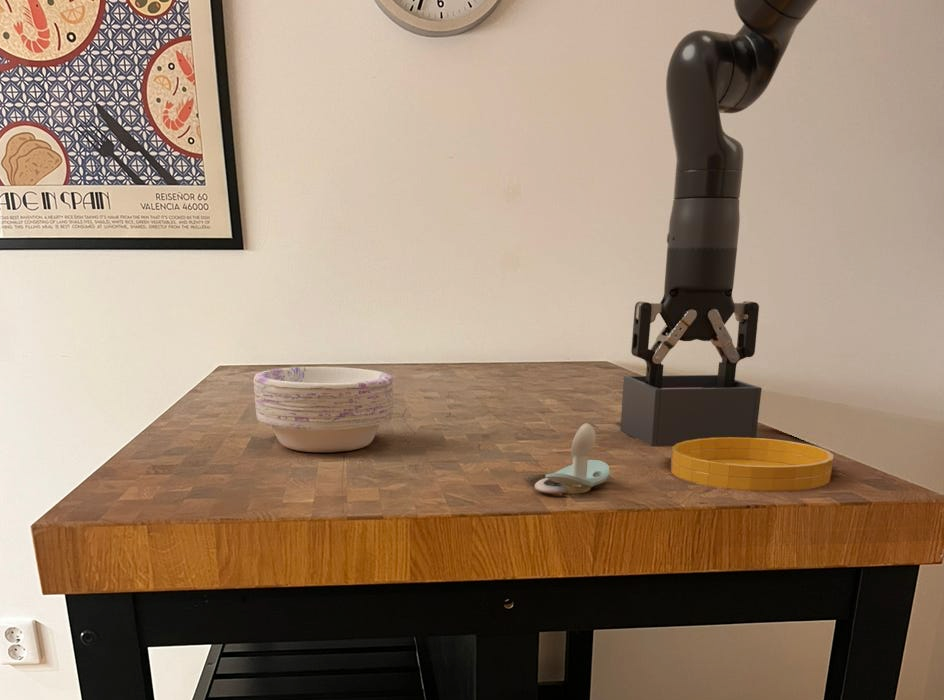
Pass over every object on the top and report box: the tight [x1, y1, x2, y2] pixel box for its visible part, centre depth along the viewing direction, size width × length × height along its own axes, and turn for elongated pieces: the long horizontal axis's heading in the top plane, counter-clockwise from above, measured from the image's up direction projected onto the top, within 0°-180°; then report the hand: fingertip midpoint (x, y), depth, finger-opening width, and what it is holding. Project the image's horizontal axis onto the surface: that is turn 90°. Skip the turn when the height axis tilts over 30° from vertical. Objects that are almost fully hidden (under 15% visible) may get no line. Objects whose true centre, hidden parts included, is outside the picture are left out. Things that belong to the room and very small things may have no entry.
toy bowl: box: [670, 437, 835, 492], centre depth 94 cm, size 15×15×2 cm
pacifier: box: [534, 422, 611, 495], centre depth 87 cm, size 7×6×6 cm
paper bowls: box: [253, 366, 394, 453], centre depth 107 cm, size 15×15×8 cm
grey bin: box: [620, 374, 762, 448], centre depth 112 cm, size 12×12×6 cm
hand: (689, 396), depth 112 cm, fingers open, 7 cm apart
